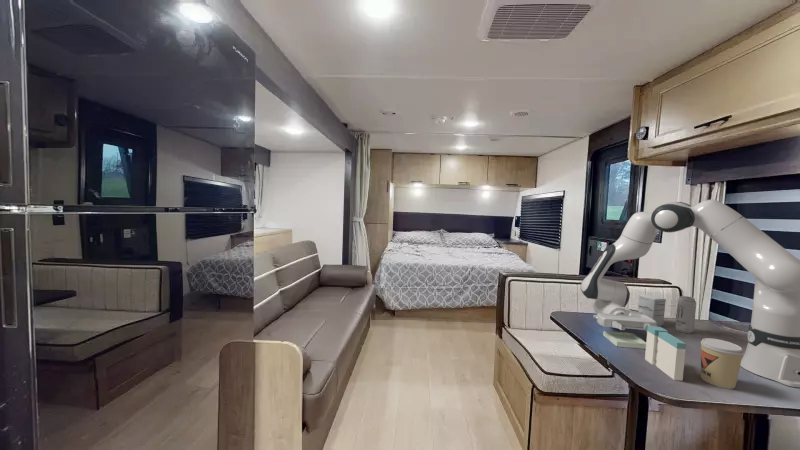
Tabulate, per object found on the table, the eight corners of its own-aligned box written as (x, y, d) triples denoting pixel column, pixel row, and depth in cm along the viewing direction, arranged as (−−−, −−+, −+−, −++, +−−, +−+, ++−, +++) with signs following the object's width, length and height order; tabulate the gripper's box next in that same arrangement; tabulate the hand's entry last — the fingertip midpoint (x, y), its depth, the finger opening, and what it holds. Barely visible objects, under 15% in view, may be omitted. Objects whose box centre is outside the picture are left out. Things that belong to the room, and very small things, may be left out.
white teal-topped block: (657, 360, 115) (660, 326, 114) (664, 365, 111) (668, 331, 110) (644, 359, 115) (647, 325, 114) (651, 364, 111) (654, 330, 110)
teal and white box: (663, 366, 110) (666, 332, 109) (682, 380, 101) (686, 343, 100) (655, 365, 111) (658, 331, 110) (673, 379, 102) (677, 342, 101)
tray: (632, 337, 134) (632, 332, 134) (648, 349, 123) (648, 344, 123) (603, 335, 136) (603, 330, 136) (616, 346, 125) (617, 341, 125)
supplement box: (636, 321, 154) (638, 294, 153) (647, 320, 156) (649, 293, 155) (652, 327, 147) (654, 299, 146) (664, 325, 149) (666, 298, 148)
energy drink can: (671, 328, 146) (674, 295, 145) (685, 328, 146) (688, 295, 145) (682, 333, 140) (685, 299, 139) (697, 334, 140) (700, 299, 139)
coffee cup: (691, 371, 107) (695, 335, 107) (728, 377, 104) (732, 341, 103) (706, 385, 99) (710, 347, 98) (746, 393, 95) (751, 353, 95)
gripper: (591, 307, 139) (607, 318, 126) (644, 311, 136) (666, 323, 123) (590, 322, 140) (606, 334, 126) (643, 325, 137) (665, 339, 123)
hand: (636, 329), depth 124 cm, fingers open, 8 cm apart
